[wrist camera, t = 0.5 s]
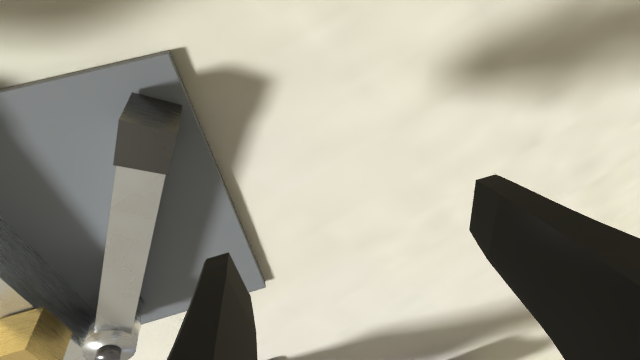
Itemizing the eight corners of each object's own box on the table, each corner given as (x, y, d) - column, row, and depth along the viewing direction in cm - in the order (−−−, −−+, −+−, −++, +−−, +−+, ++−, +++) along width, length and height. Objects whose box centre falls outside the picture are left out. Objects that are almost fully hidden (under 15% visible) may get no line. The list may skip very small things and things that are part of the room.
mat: (265, 281, 25) (265, 287, 24) (80, 336, 24) (77, 343, 23) (169, 50, 15) (167, 53, 15) (-154, 124, 14) (-165, 130, 13)
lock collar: (72, 331, 19) (58, 373, 17) (17, 348, 19) (-3, 392, 17) (43, 306, 17) (24, 349, 16) (-17, 323, 17) (-43, 369, 15)
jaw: (141, 318, 23) (130, 372, 20) (94, 317, 22) (77, 373, 19) (189, 106, 16) (184, 145, 13) (124, 89, 15) (103, 127, 12)
